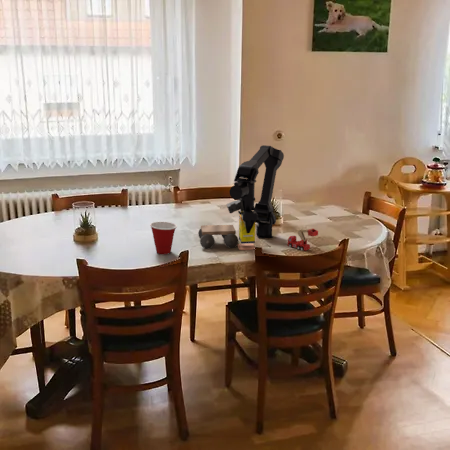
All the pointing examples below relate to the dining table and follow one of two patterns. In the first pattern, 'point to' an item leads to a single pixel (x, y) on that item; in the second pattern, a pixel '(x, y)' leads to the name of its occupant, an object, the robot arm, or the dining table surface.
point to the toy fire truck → (303, 242)
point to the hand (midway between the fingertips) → (246, 230)
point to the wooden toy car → (224, 230)
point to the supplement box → (245, 236)
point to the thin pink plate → (246, 246)
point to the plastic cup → (163, 236)
